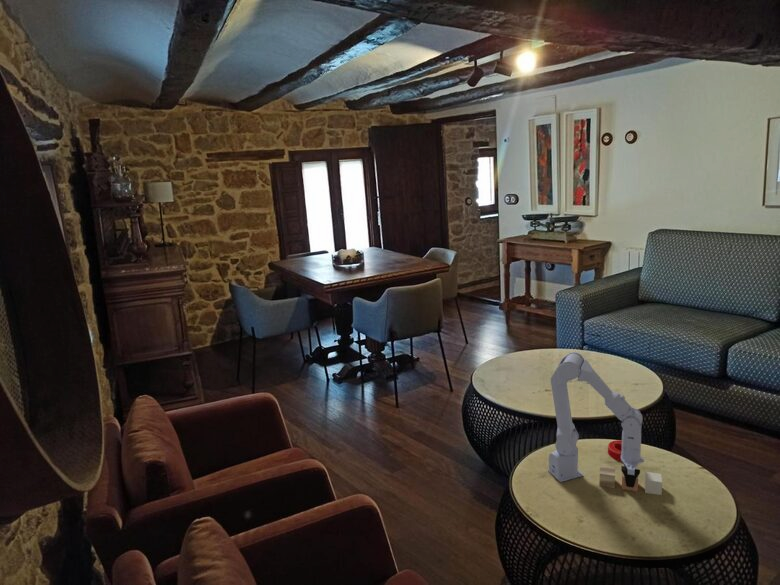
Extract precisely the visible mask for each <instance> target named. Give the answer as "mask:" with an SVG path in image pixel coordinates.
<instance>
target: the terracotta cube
mask: <svg viewBox="0 0 780 585" xmlns="http://www.w3.org/2000/svg"><path fill="white" fill-rule="evenodd" d="M624 489H627V490H626V491H631V490H633V491H632V492H638V491H639V476H638V477H637V478H636V481H635V485H634V487H627V486H626V482H625V477H624V474H623V472H622V471H621V490H624Z"/></svg>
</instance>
